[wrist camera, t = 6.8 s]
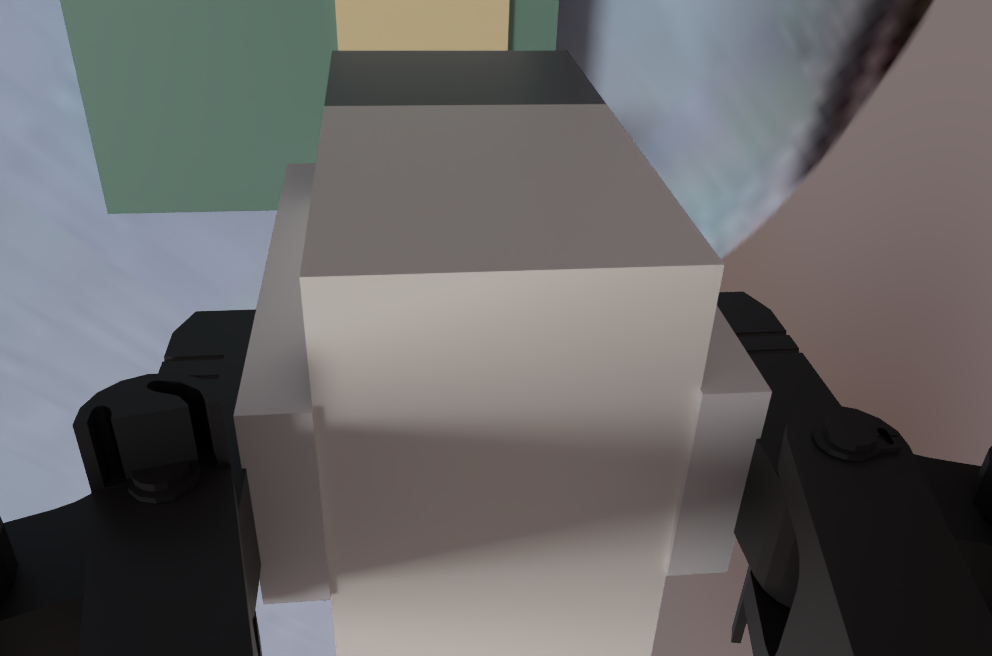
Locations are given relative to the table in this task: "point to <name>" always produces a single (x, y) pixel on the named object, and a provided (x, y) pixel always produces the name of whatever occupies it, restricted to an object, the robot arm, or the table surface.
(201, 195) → the header board
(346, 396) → the plug
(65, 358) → the table surface
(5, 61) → the table surface
